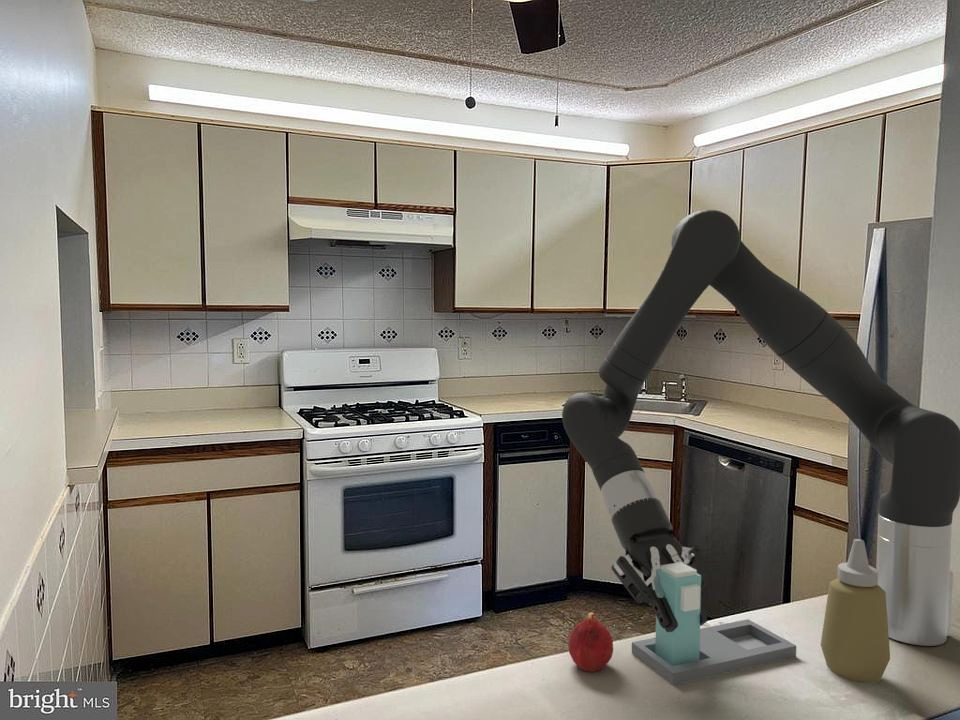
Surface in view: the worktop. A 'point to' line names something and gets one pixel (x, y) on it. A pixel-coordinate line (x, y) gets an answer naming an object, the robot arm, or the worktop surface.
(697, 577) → the plug
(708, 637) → the panel
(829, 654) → the squeeze bottle
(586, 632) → the onion
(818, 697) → the worktop surface
